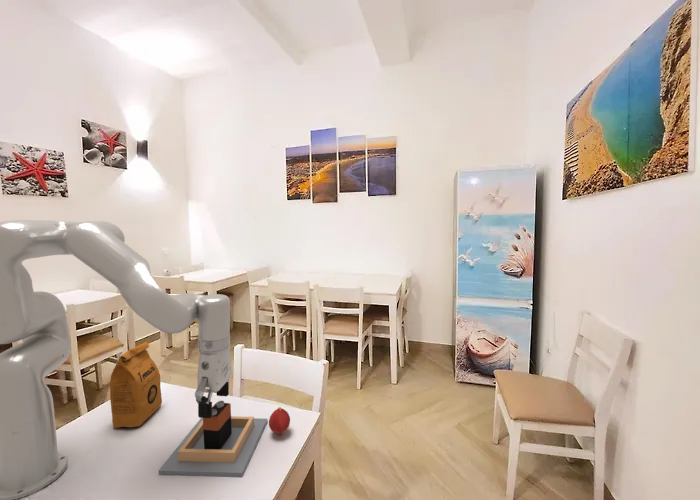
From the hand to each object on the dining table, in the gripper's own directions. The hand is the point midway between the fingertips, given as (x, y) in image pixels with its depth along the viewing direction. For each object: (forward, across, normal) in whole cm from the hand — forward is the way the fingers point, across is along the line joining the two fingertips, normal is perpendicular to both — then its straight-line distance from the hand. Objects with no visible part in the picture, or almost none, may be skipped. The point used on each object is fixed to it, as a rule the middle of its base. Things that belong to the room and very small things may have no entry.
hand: (214, 405), depth 82 cm
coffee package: (+12, +11, +29) cm, 33 cm away
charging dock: (+11, 0, -1) cm, 11 cm away
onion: (+11, +5, -16) cm, 20 cm away
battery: (+10, 0, -1) cm, 10 cm away
